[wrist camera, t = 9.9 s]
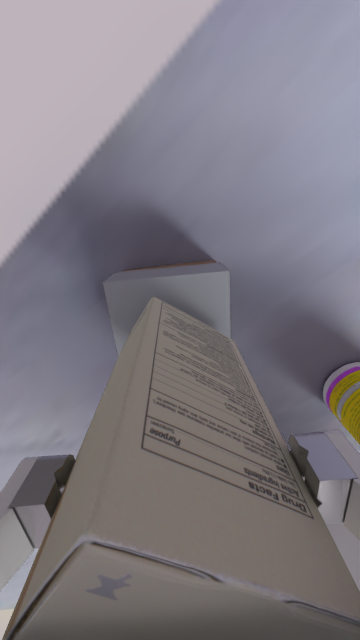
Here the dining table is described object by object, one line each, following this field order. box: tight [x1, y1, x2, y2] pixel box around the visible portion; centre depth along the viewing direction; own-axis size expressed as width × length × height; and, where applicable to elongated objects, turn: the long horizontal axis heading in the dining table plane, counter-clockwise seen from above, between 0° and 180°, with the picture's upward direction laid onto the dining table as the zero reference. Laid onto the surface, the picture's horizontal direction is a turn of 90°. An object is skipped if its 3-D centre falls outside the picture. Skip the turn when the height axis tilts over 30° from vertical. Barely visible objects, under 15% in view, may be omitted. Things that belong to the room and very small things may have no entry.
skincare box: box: [2, 297, 360, 640], centre depth 10 cm, size 6×4×12 cm
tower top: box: [103, 263, 231, 357], centre depth 19 cm, size 8×8×4 cm
